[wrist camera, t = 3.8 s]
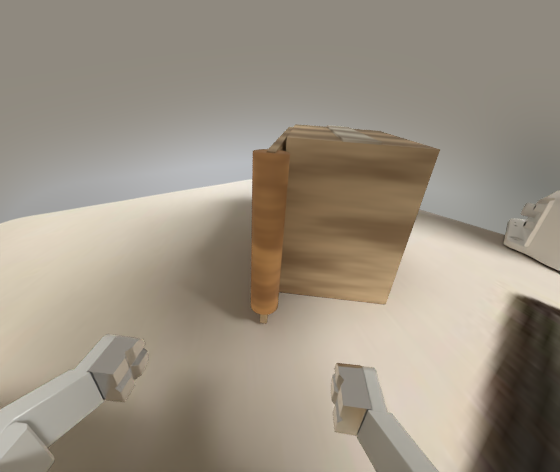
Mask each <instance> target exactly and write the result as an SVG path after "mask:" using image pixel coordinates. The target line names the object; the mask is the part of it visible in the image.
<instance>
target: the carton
mask: <svg viewBox="0 0 560 472" xmlns="http://www.w3.org/2000/svg"><path fill="white" fill-rule="evenodd" d="M439 151H440V149H436V148H433V147H430V146H426V145H423V144H420V143H417V142H413V141H410V140H407V139H404V138H400V137H397V136H394V135H391V134H387V133H384V132H381V131H372V130H359V129H351V128H349V127H341V126H328V125H327V127H320V126H307V125H295V126H294V127H293V129H292V130H291V132H290V133H289V135H288V136H287V141H286V152H288V153H290V162H289V174H288V186H287V199H286V211H285V223H284V236H283V248H282V260H281V272H280V285H279V292H283V293H291V294H300V295H309V296H317V297H326V298H335V299H343V300H352V301H361V302H369V303H378V304H386V301H387V299H388V296H389V293H390V290H391V287H392V284H393V282H394V279H395V276H396V273H397V270H398V267H399V265H400V262H401V259H402V256H403V253H404V250H405V248H406V245H407V242H408V239H409V236H410V233H411V231H412V228H413V225H414V222H415V219H416V216H417V214H418V211H419V208H420V205H421V202H422V199H423V197H424V194H425V191H426V188H427V185H428V182H429V180H430V177H431V174H432V171H433V168H434V165H435V163H436V160H437V157H438V154H439Z"/></svg>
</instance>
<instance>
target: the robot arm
mask: <svg viewBox="0 0 560 472" xmlns="http://www.w3.org/2000/svg"><path fill="white" fill-rule="evenodd" d="M521 215H523V216H527V217H528V218H527V219H526V220H524V219H523V220H522V219H510V220H509V222H508V224H507V229H506V234H505V239H504V244H505V245H506V246H508V247H510V248H512V249H515V250H517V251H520V252H522V253H525V254H527V255H529V256H530V257H532V258H534V259H536V260H538V261H539V262H541V263H543V264H545V265H547V266H549V267H552V268H554V269H556V270H558V271H560V190H559V191H557V192H555V193H553V194H551V195H549V196H547V197H545V198H543V199H541V200H539V201H538V202H537V203H536V204H532V203H526V204H525V206H524V208H523V210H522V212H521ZM144 346H145V341H144V339H140V338H132V337H125V336H119V335H111V334H107V335H105V336H104V337H102V338H101V339H100V341H99V342H98V343H97V344H96V345H95V346H94V347H93V348H92V350H91V351H90V352H89V353H88V354H87V355H86V356H85V357H84V359H83V360H82V361H81V362H80V363H79V364H78V365H77V366H76V368H75V369H74V370H68V371H66V372H65V373H63V374H61V375H59V376H58V377H56V378H54V379H52V380H51V381H49V382H47V383H45V384H44V385H42V386H40V387H38V388H37V389H35V390H33V391H31V392H30V393H28V394H26V395H24V396H23V397H21V398H19V399H17V400H16V401H14V402H12V403H10V404H9V405H7V406H5V407H3V408H2V409H0V472H47V471H48V470H49V468H50V467H51V465H52V464H53V462H54V456H53V455H52V453H51V452H50V451H49V450H48V447H49V446H50V445H52V444H53V443H54V442H55V441H56V440H58V439H59V438H60V437H61V436H63V435H64V434H65V433H66V432H67V431H69V430H70V429H71V428H72V427H74V426H75V425H76V424H77V423H78V422H80V421H81V420H82V419H83V418H85V417H86V416H87V415H88V414H89V413H91V412H92V411H93V410H94V409H96V408H97V407H98V406H99V405H100V404H102V403H103V402H104V400H107V401H116V402H125V401H126V400H127V398H128V396H129V395H130V393H131V392H132V390H133V388H134V387H135V379H137V378H138V377H139V376H141V375H142V374H143V372H144V370H145V369H146V366H147V363H148V359H149V355H148V351H147V350H146V349H144V348H143V347H144ZM334 369H335V374H334V375H333V376H332V380H331V399H332V402H333V403H334V405H335V406H334V410H333V422H334V432H337V433H343V434H349V435H355V436H357V439H358V440H359V442H360V444H361V446H362V447H363V449H364V451H365V453H366V454H367V456H368V458H369V460H370V461H371V463H372V465H373V467H374V469H375V470H376V472H439V471H438V470H437V469H436V468H435V466H434V465H433V464H432V463H431V461H430V460H429V459H428V458H427V457H426V455H425V454H424V453H423V452H422V450H421V449H420V448H419V447H418V445H417V444H416V443H415V442H414V440H413V439H412V438H411V437H410V435H409V434H408V433H407V432H406V430H405V429H404V428H403V427H402V426H401V424H400V423H399V422H398V421H397V419H396V418H395V417H394V416H393V414H392V413H388V412H387V409H386V405H385V401H384V398H383V394H382V390H381V387H380V383H379V379H378V376H377V372H376V370H375V368H373V367H365V366H360V365H351V364H342V363H336V365H335V368H334Z"/></svg>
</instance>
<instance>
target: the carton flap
mask: <svg viewBox="0 0 560 472" xmlns="http://www.w3.org/2000/svg"><path fill="white" fill-rule="evenodd" d="M292 129H293V127H289V128H288V129H287V130H286V131H285V132H284V133H283V134H282V135H281V136H280V138H278V139H277V141H276V142H275V143H274V144H273V145H272V146H271V147H270V148H269V149H261V150H254V151H253V178H252V252H251V308H252V310H253V311H254V312H256V313H258V314H260V323H265V324H266V323H267V318H268V314H271V313H273V312H274V311H276V309H277V307H278V297H279V285H280V272H281V260H282V248H283V236H284V223H285V211H286V199H287V186H288V174H289V162H290V153H288V152H286V141H287V136H288V135H289V133H290V132H291V130H292Z"/></svg>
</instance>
